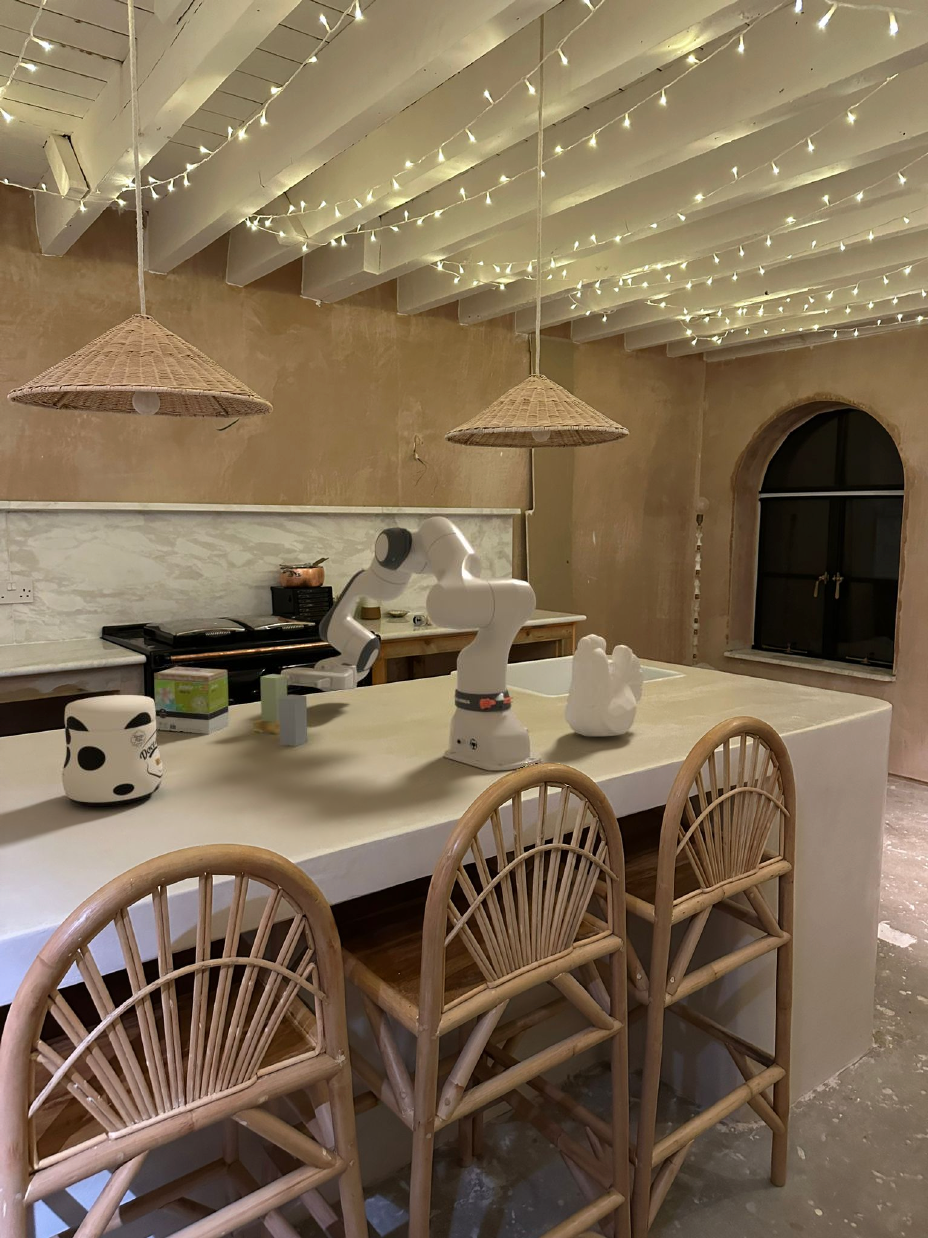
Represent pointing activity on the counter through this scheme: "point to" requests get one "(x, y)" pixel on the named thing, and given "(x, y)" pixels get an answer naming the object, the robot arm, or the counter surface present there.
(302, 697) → the slate block
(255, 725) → the ochre slab
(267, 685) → the green block
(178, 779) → the counter surface
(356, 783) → the counter surface
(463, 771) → the counter surface
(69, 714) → the spotted treat jar
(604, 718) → the decorative rooster
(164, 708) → the tea box
